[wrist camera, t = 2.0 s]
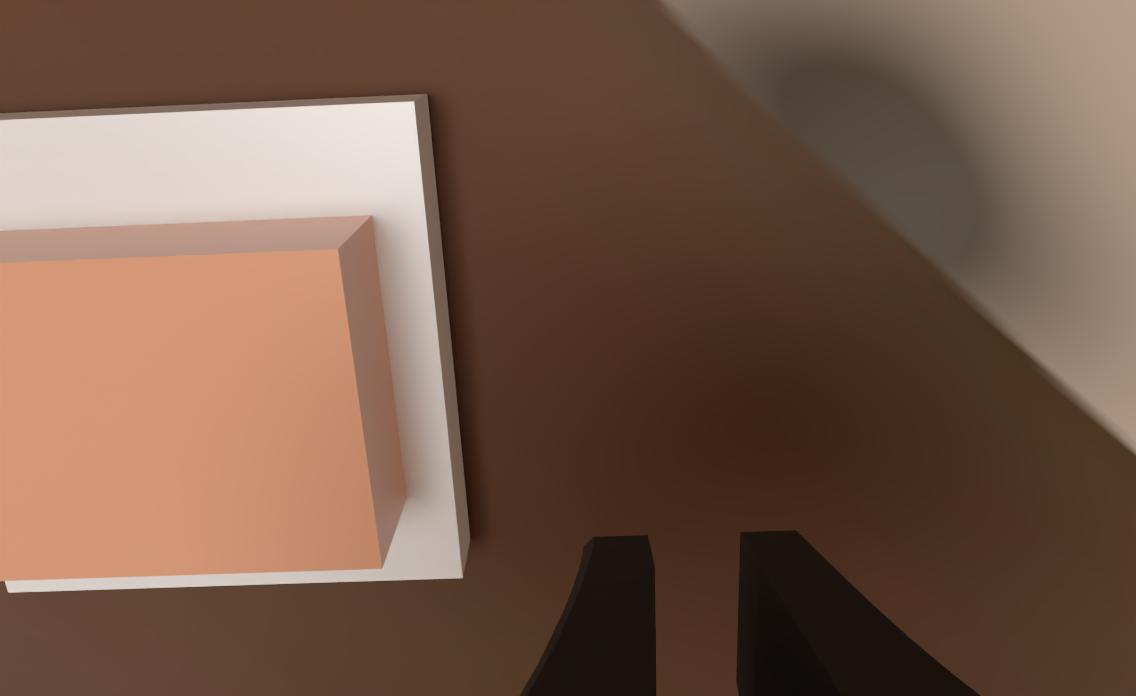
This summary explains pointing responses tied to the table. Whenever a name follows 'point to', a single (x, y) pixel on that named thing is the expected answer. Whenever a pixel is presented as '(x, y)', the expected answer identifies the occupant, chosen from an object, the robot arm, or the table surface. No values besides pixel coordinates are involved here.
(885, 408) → the table surface
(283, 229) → the terracotta tile
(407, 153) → the white riser
